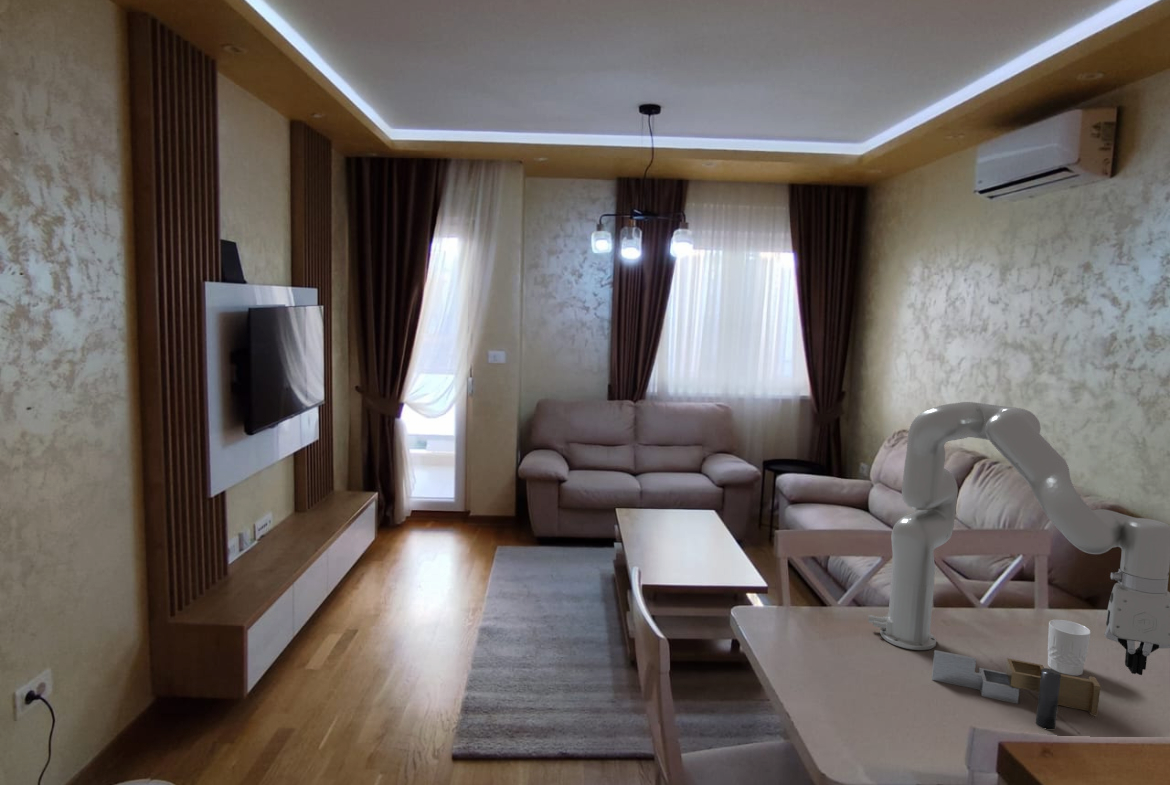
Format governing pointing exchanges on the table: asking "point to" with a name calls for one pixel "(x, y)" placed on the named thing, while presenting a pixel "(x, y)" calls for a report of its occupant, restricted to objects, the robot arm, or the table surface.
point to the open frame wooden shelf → (1071, 688)
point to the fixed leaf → (972, 676)
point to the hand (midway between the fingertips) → (1134, 671)
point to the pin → (1048, 698)
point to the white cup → (1067, 646)
